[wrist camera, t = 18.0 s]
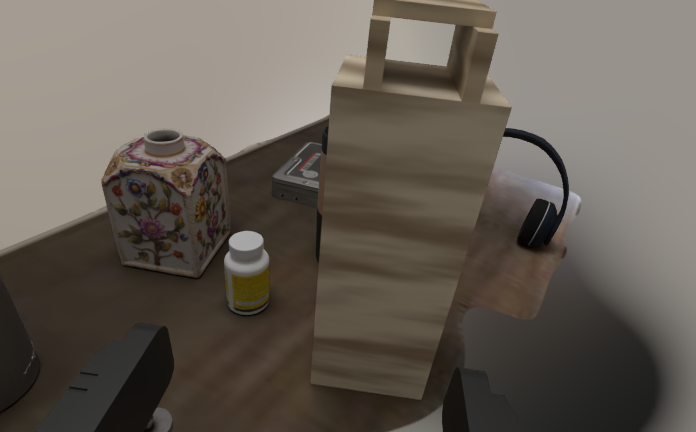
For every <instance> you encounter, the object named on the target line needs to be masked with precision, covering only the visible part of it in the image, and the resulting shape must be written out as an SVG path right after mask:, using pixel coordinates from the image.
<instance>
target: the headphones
mask: <svg viewBox="0 0 696 432" xmlns="http://www.w3.org/2000/svg"><path fill="white" fill-rule="evenodd" d="M503 137H512V138H518V139H521V140H524V141H527V142H530V143H533V144H534V145H536V146H538V147H540V148H541V149H542V150H544V151H545V152H546V153H547V154H548V155H549V157H550V158H551V159H552V160H553V162H554V163H555V164H556V166H557V168H558V170H559V172H560V174H561V177H562V182H563V191H564V199H563V204H562V207H561V210H560V212H559V214H558V215H557V210H556V207H555V205H554V203H551V202H548V201H546V200H543V199H536V201H535V202H534V204H533V206H532V208H531V210H530V212H529V213H528V215H527V217H526V219H525V221H524V223H523V225H522V227H521V230H520V232H519V234H518V237H517V239H518V241H520V242H521V243H523V244H525V245H527V244H528V246H530V247H535V246H538V245H540V244H541V243H543V242H544V244H545V245H548V244H549V242H550V241H551V239H552V237H553V236H554V234H555V232H556V230H557V229H558V227H559V225H560V223H561V221H562V218H563V216H564V213H565V210H566V206H567V201H568V196H569V184H568V177H567V173H566V169H565V166H564V164H563V161H562V159H561V158H560V156H559V154H558V153H557V152H556V150H555V149H554V148H553V147H552V146H551V145H550V144H549V143H548V142H547V141H546V140H545V139H543V138H541V137H539V136H537V135H535V134H532V133H528V132H526V131H523V130H517V129H511V128H505V131H504V134H503Z"/></svg>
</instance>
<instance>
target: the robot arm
mask: <svg viewBox="0 0 696 432" xmlns="http://www.w3.org/2000/svg"><path fill="white" fill-rule="evenodd" d="M39 369H40V361H39V359H38V356H37V354H36V351H35V348H34V346H33V344H32V342H31V341H30V338H29V336H28V334H27V332H26V329H25V327H24V325H23V323H22V321H21V319H20V316H19V314H18V312H17V310H16V308H15V306H14V303H13V301H12V299H11V297H10V295H9V292H8V290H7V288H6V286H5V284H4V282H3V279H2V277H1V275H0V412H1V411H3V410H4V409H6V408H7V407H9V406H10V405H12V404H13V403H14V402H16V401H17V400H18V399H19V398H20V397H21V396H22V395H24V394H25V393H26V391H27V390H28V389H29V388H30V387H31V386H32V384H33V382H34V381H35V379H36V377H37V375H38V372H39ZM173 370H174V358H173V353H172V348H171V343H170V338H169V333H168V329H167V327H165V326H159V325H152V324H145V323H136V324H135V325H134V326H133V327H132V328H131V329H130V331H129V332H128V334H127V335H126V336H125V338H124V339H123V341H119V340H112V341H111V342H109V343H108V344H107V345H105V346H104V347H103V348H101V349H100V350H99V351H97V352H96V353H95V354H94V355H93V356H92V357H91V359H90V360H89V361H88V363H87V364H86V365H85V367H84V368H83V369H82V370H81V373H80V375H78V376H77V377H76V378H75V380H74V381H73V382H72V384H71V385H70V386H69V387H70V388H69V390H66V392H65V393H64V394H63V396H62V397H61V398H60V400H59V401H58V402H57V404H56V405H55V406H54V408H53V409H52V410H51V412H50V413H49V414H48V415H47V417H46V418H45V419H44V421H43V422H42V423H41V425H40V426H39V427H38V429H37V430H36V431H35V432H144V431H145V429H146V427H147V425H148V423H149V421H150V419H151V417H152V415H153V414H154V412H155V410H156V408H157V406H158V404H159V402H160V400H161V398H162V397H163V395H164V393H165V391H166V389H167V387H168V385H169V383H170V381H171V378H172V375H173ZM442 425H443V432H521V429H520V425H519V421H518V417H517V414H516V413H515V411H514V410H513V408H512V407H511V405H510V404H509V402H508V400H507V399H506V397H505V396H504V395H497V394H491V390H490V386H489V381H488V377H487V374H486V373H485V372H484V371H479V370H472V369H465V368H458V367H457V368H456V369H455V371H454V374H453V377H452V380H451V382H450V385H449V388H448V391H447V393H446V396H445V399H444V403H443V410H442Z"/></svg>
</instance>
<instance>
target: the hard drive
mask: <svg viewBox="0 0 696 432" xmlns="http://www.w3.org/2000/svg"><path fill="white" fill-rule="evenodd" d="M321 150H322V144H318V143H313V142H308V143H306V144H305V145H304V146H303V147H302V148H301V149H300V150H298V151H297V152H296V153H295V154H294V155H293V156H292V157H291V158H290V159H289V160H288V161H287V162H286V163H285V164H283V165H282V166H281V167H280V168H279V169H278V170H277V171H276V172H275V173H274V174H273V175H272V196H274V197H276V198H280V199H284V200H288V201H292V202H296V203H300V204H304V205H308V206H312V207H316V208H317V203H318V190H319V176H320V163H321Z"/></svg>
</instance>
